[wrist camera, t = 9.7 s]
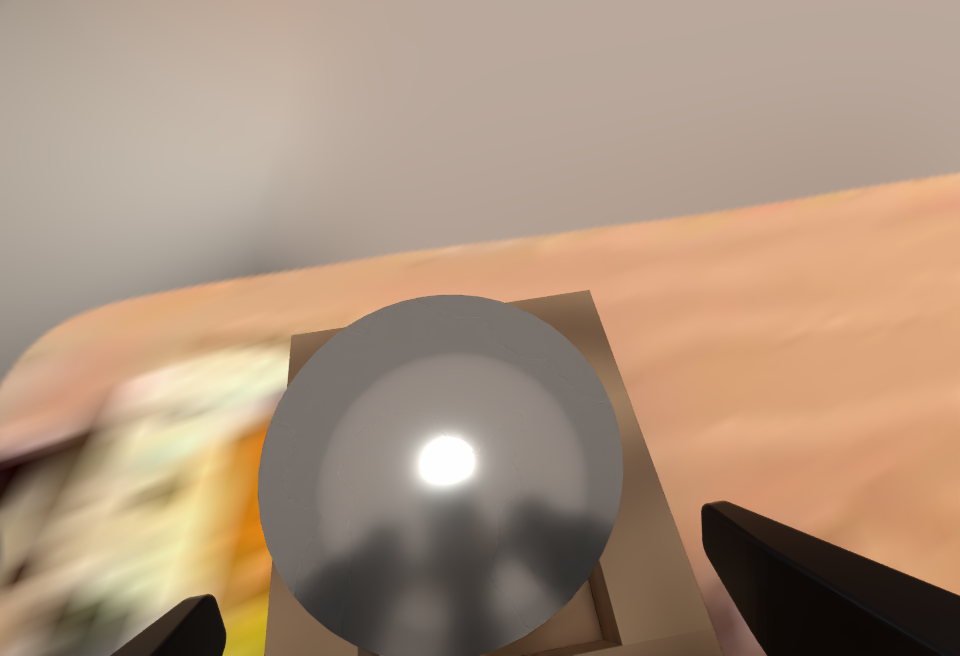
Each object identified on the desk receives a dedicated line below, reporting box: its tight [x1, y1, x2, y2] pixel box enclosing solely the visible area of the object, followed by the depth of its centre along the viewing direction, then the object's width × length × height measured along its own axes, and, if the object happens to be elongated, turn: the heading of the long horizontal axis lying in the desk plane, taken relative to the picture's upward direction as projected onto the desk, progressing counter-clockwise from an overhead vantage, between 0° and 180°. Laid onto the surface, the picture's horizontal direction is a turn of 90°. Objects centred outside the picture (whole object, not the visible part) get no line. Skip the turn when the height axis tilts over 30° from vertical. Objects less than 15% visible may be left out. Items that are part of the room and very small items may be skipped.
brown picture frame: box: [264, 290, 724, 656], centre depth 14 cm, size 16×12×2 cm
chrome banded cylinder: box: [258, 295, 623, 656], centre depth 11 cm, size 5×5×11 cm
